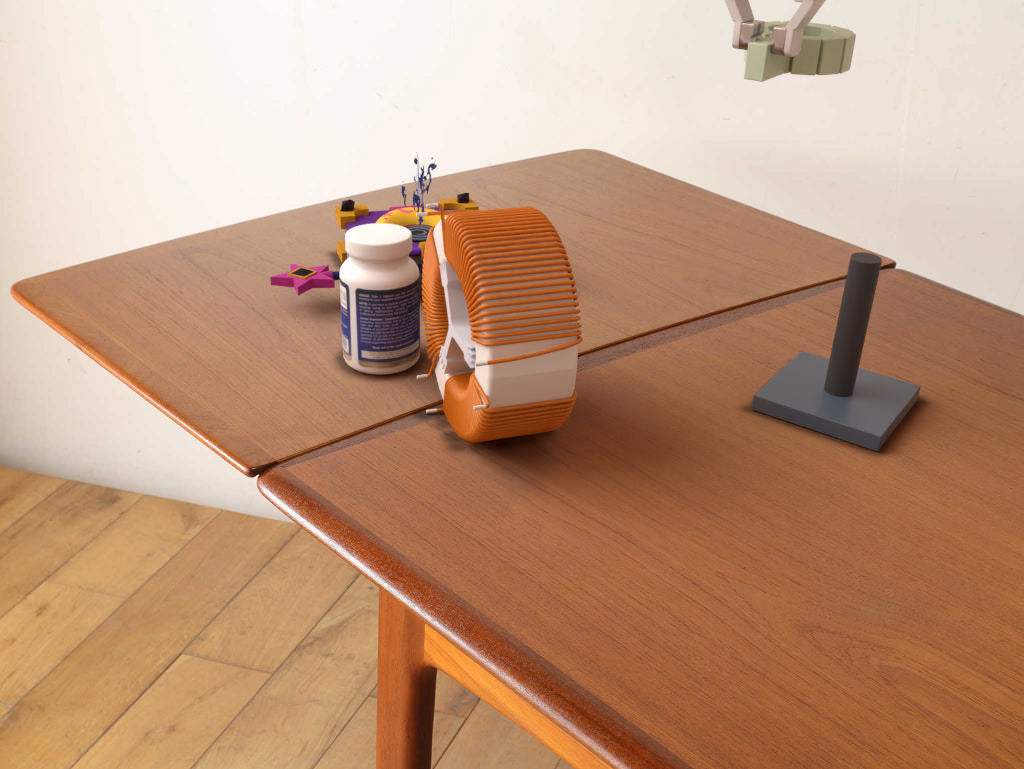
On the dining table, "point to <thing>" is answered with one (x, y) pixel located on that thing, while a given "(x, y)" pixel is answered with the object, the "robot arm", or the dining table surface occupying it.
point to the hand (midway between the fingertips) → (765, 51)
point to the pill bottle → (380, 299)
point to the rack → (842, 376)
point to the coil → (500, 321)
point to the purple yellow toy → (361, 215)
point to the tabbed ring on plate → (801, 53)
